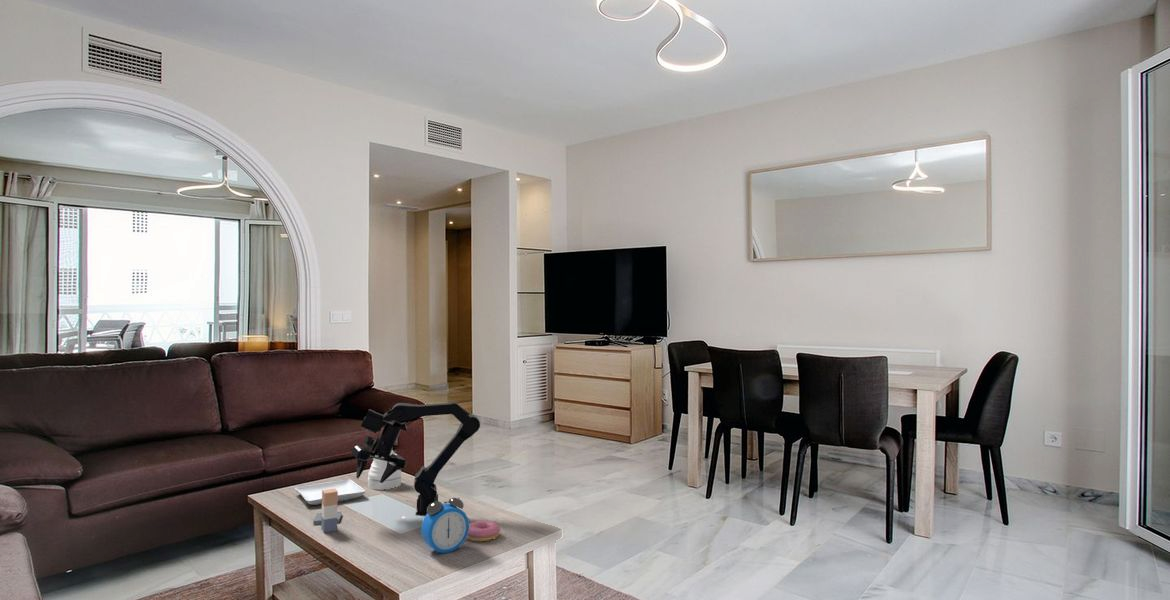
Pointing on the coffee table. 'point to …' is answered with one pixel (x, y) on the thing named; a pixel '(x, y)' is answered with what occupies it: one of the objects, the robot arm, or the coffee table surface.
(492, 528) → the doughnut
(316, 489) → the salad plate
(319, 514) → the baseplate
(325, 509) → the brick stack
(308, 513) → the coffee table surface
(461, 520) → the alarm clock
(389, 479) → the honey pot
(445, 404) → the robot arm
